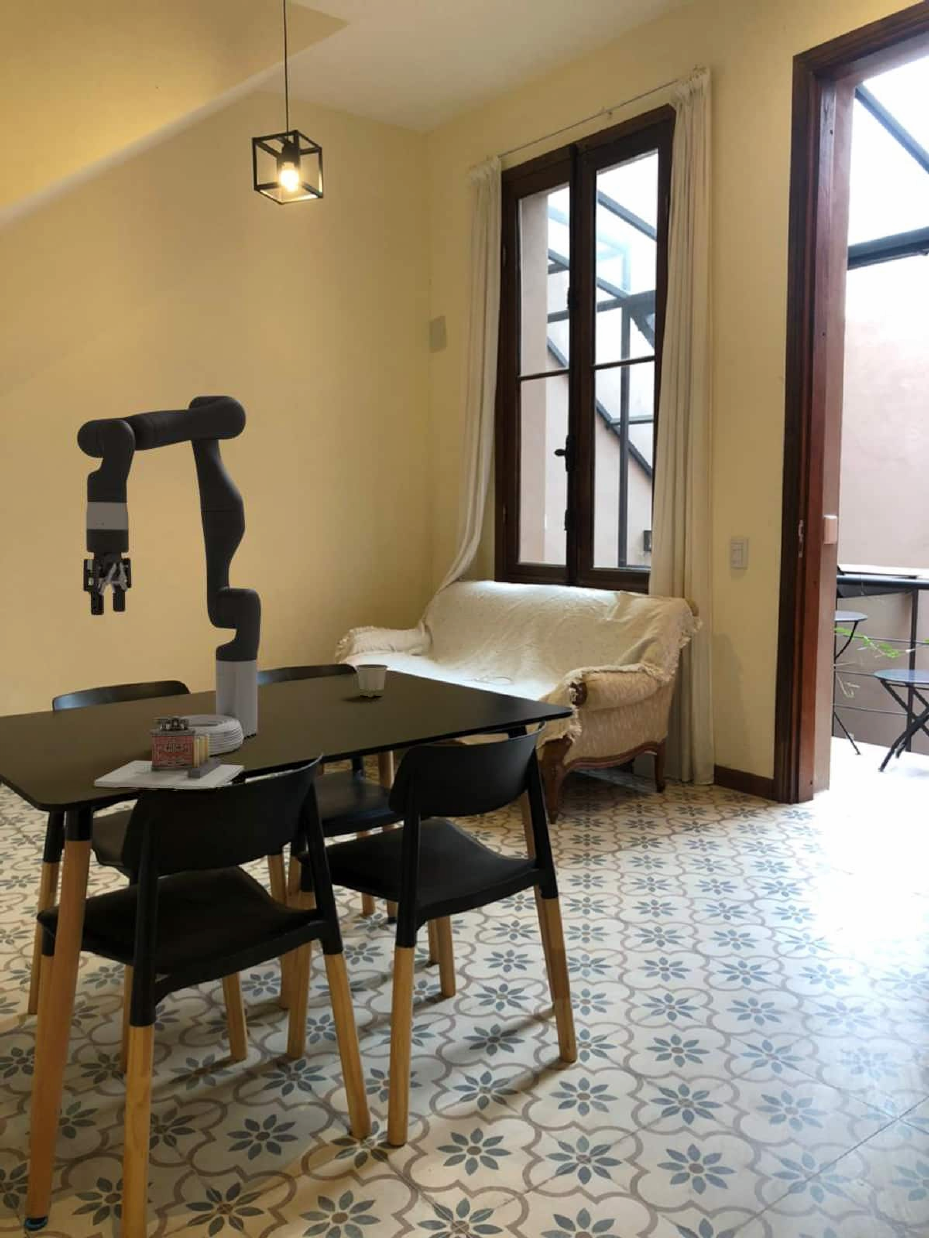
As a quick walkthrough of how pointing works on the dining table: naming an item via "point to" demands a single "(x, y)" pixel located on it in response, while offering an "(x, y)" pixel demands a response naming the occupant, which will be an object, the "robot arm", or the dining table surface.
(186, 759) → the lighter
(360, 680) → the flower pot
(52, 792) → the dining table surface
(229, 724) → the cable
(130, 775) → the board
